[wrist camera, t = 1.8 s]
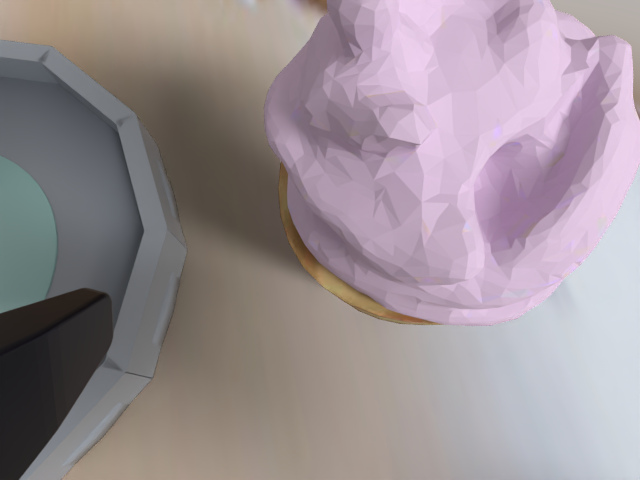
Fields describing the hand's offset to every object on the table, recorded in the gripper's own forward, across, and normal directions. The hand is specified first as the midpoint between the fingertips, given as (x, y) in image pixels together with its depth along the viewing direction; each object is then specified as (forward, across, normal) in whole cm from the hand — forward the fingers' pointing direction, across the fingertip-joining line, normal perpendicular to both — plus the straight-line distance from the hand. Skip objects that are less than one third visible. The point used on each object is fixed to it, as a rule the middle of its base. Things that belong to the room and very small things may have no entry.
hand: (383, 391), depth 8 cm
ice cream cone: (+12, 0, +5) cm, 13 cm away
